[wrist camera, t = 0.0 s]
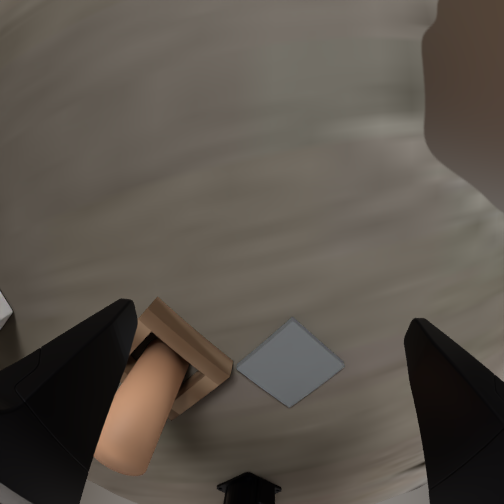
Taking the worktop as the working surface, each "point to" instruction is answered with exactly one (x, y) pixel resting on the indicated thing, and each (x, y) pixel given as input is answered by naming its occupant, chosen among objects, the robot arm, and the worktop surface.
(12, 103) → the worktop surface
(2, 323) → the milk carton
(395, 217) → the worktop surface
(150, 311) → the walnut socket block
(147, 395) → the peach rounded cylinder
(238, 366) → the slate rubber pad
